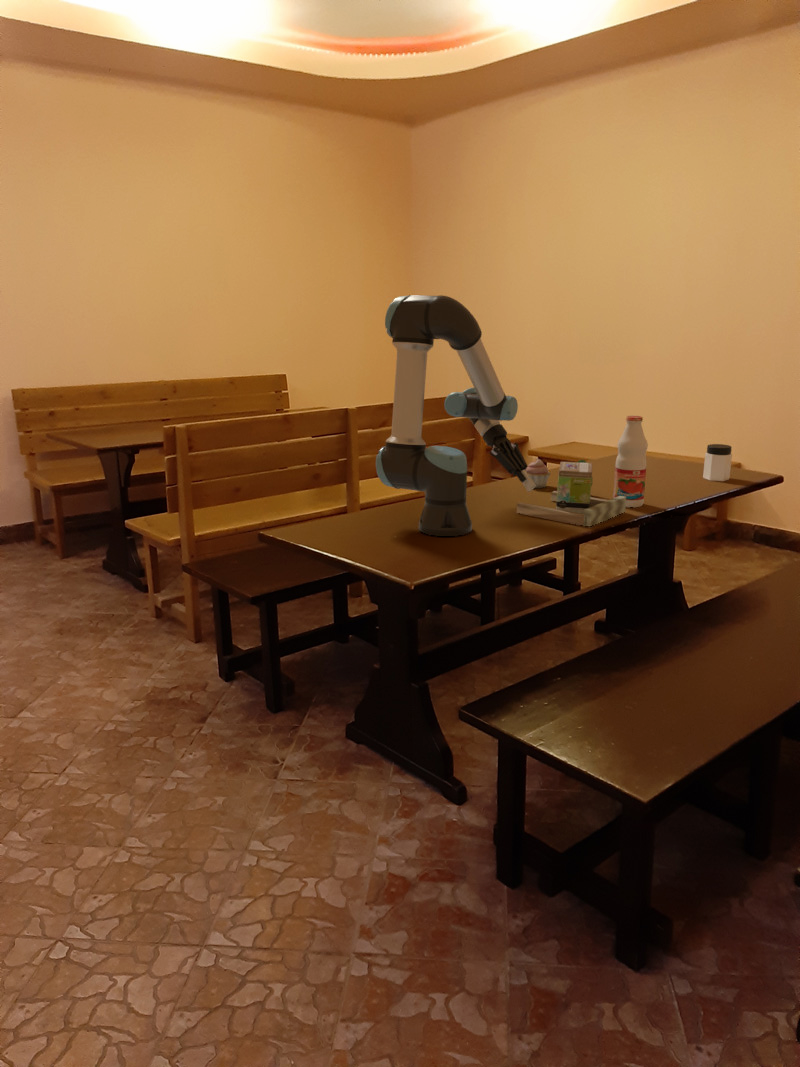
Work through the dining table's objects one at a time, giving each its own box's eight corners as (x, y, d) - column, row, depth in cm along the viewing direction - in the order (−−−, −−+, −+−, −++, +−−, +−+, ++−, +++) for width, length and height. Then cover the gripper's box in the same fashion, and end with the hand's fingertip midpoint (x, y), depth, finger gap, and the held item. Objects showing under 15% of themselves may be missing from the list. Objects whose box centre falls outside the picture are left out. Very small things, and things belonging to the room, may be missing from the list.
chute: (589, 527, 239) (590, 510, 238) (516, 513, 255) (517, 497, 254) (625, 512, 255) (626, 496, 254) (554, 499, 271) (554, 484, 269)
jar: (733, 480, 297) (737, 447, 293) (713, 482, 295) (716, 448, 292) (719, 475, 305) (722, 443, 302) (699, 476, 303) (702, 444, 300)
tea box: (589, 520, 247) (592, 471, 243) (555, 518, 249) (557, 470, 245) (589, 508, 261) (592, 461, 257) (557, 506, 263) (559, 460, 259)
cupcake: (523, 483, 295) (524, 455, 292) (550, 484, 293) (551, 456, 290) (521, 488, 286) (522, 460, 283) (549, 490, 284) (550, 461, 282)
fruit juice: (638, 500, 269) (644, 414, 262) (647, 507, 260) (654, 418, 253) (609, 501, 269) (615, 414, 261) (617, 508, 260) (623, 419, 252)
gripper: (496, 435, 276) (536, 492, 270) (472, 440, 267) (512, 499, 261) (510, 420, 271) (551, 478, 265) (486, 425, 262) (527, 485, 256)
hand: (532, 488), depth 263 cm, fingers closed
